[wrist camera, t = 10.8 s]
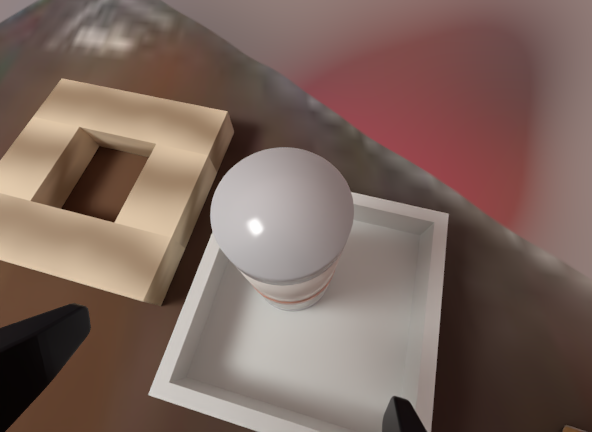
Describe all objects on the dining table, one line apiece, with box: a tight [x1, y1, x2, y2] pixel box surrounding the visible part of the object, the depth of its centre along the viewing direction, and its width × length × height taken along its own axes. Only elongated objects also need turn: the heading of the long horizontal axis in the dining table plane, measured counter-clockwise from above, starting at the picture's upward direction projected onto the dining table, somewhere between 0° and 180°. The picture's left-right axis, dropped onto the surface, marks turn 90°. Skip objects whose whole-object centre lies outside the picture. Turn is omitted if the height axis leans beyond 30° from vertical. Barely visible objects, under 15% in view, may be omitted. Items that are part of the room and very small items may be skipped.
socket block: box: [0, 79, 234, 306], centre depth 23 cm, size 15×15×2 cm
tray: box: [148, 192, 449, 432], centre depth 19 cm, size 14×14×4 cm
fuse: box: [210, 147, 354, 311], centre depth 15 cm, size 5×5×10 cm
